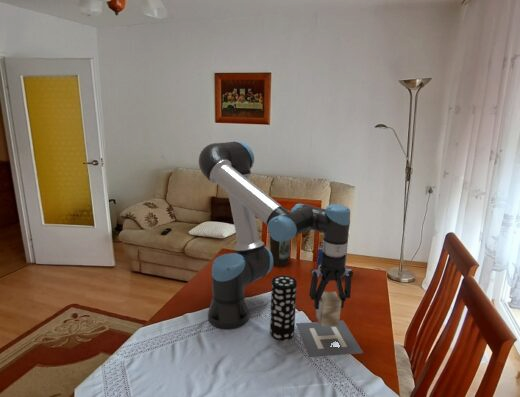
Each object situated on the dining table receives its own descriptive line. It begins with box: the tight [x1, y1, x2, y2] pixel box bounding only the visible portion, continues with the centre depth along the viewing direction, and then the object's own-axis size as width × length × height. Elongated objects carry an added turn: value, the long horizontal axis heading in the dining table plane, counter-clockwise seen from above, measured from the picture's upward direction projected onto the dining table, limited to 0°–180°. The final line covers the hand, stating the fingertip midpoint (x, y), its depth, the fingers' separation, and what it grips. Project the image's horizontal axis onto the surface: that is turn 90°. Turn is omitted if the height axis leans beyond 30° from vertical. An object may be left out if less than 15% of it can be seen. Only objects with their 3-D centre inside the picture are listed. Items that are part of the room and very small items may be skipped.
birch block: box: [317, 291, 342, 326], centre depth 116 cm, size 6×6×9 cm
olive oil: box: [269, 235, 292, 268], centre depth 173 cm, size 11×11×25 cm
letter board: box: [295, 320, 364, 358], centre depth 118 cm, size 18×18×1 cm
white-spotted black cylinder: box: [269, 275, 298, 342], centre depth 118 cm, size 8×8×20 cm
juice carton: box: [316, 231, 349, 281], centre depth 162 cm, size 12×8×24 cm, turn 64°
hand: (327, 316), depth 117 cm, fingers closed on birch block, 6 cm apart
